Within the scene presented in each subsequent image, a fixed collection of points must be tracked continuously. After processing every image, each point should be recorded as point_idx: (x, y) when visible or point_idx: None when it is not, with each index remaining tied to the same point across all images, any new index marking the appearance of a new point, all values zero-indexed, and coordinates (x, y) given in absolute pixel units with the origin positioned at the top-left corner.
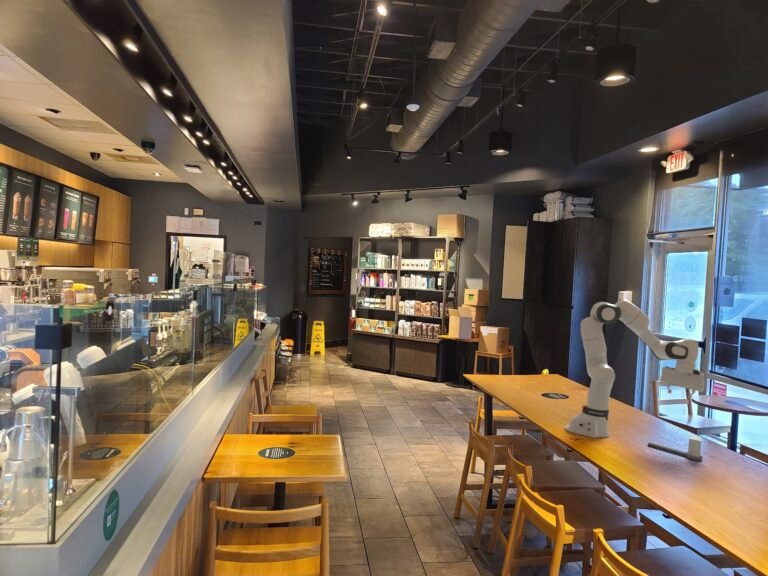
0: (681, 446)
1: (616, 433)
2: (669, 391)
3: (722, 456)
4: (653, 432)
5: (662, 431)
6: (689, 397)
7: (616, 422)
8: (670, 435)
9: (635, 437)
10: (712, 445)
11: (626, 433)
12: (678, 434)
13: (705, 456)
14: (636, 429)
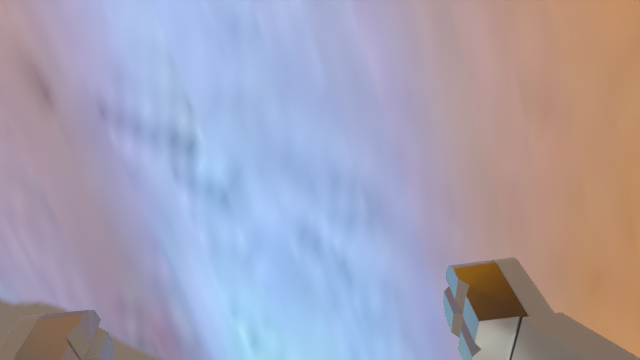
0: (237, 129)
1: (593, 8)
2: (494, 283)
3: (10, 160)
4: (437, 259)
5: (409, 325)
6: (51, 316)
7: (634, 253)
8: (356, 292)
9: (484, 40)
10: (146, 324)
11: (546, 76)
12: (335, 351)
13: (59, 50)
14: (520, 224)
